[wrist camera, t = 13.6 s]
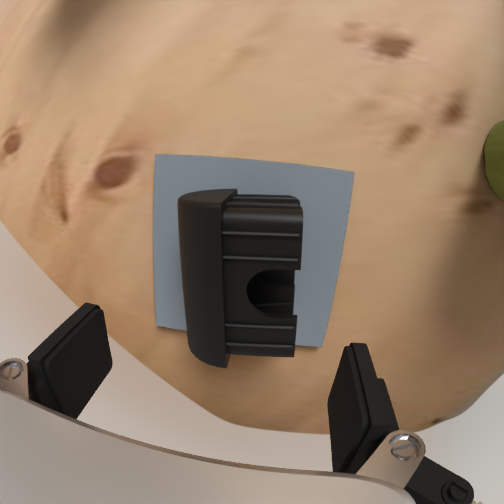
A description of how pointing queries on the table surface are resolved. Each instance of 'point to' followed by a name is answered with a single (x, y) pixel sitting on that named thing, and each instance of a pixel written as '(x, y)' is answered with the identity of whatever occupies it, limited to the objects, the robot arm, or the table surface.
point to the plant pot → (495, 159)
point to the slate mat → (265, 183)
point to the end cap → (239, 273)
